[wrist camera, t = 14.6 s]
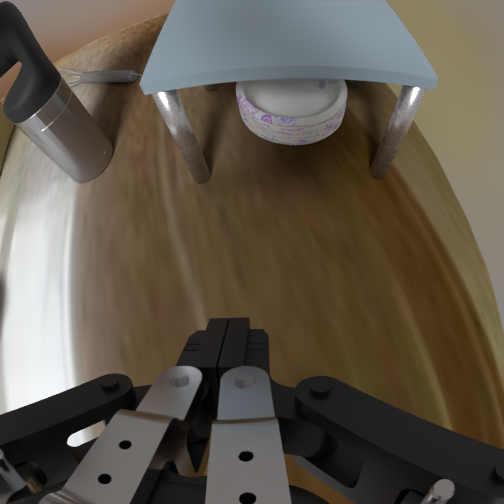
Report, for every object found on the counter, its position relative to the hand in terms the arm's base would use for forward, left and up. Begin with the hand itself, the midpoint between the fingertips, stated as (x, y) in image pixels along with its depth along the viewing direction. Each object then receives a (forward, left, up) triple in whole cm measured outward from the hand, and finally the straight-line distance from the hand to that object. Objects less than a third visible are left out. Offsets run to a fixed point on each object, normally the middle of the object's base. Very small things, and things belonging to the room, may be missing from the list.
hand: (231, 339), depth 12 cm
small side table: (-13, +29, -23) cm, 40 cm away
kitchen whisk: (-61, +26, -24) cm, 70 cm away
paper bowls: (-12, +30, -24) cm, 40 cm away
